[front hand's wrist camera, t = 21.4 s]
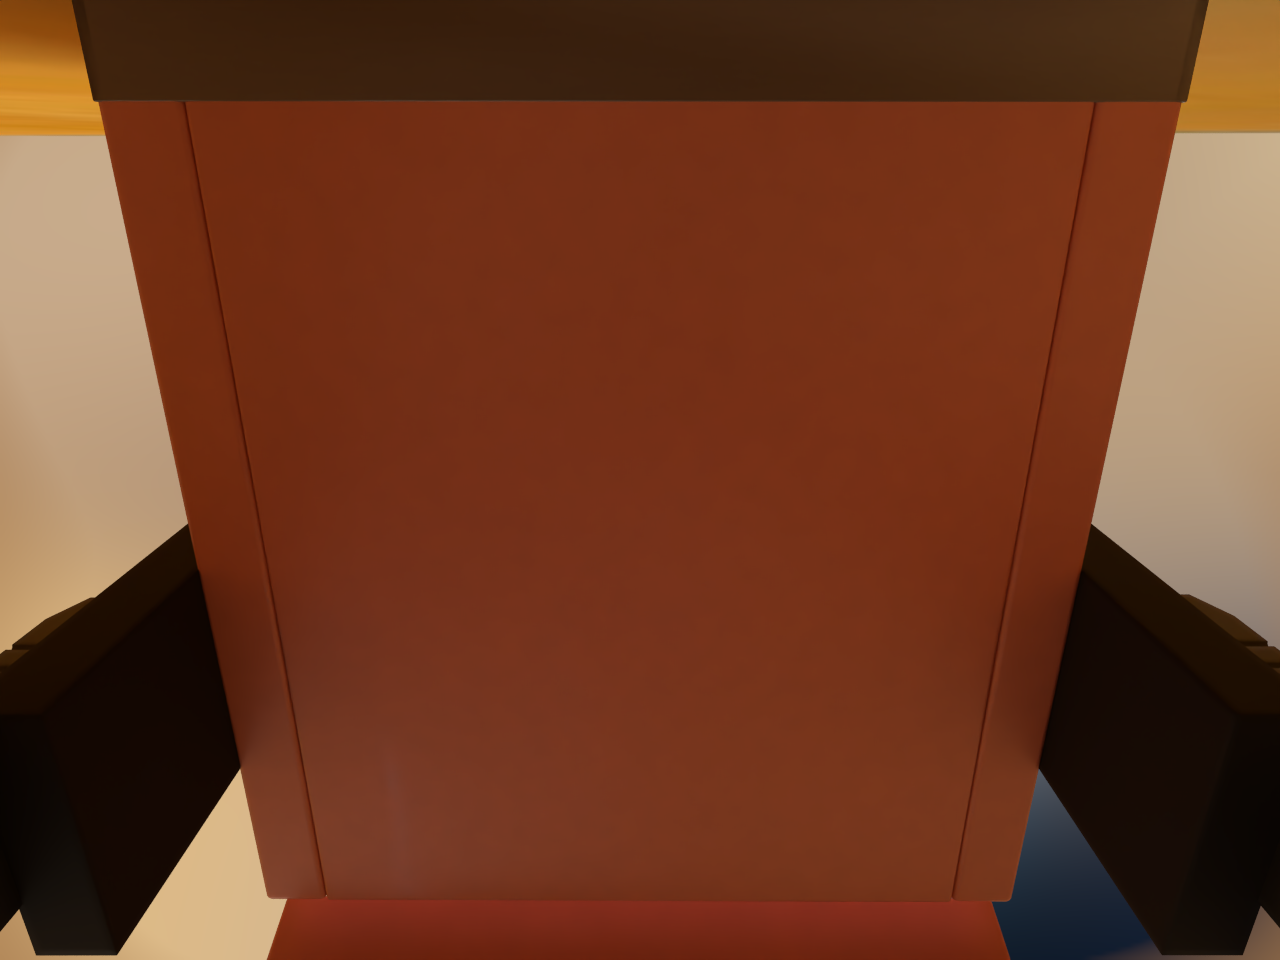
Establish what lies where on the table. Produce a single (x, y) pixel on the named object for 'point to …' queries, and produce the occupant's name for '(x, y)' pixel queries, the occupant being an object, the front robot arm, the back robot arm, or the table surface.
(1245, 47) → the table surface
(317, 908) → the lid
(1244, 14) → the table surface
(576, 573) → the chest
